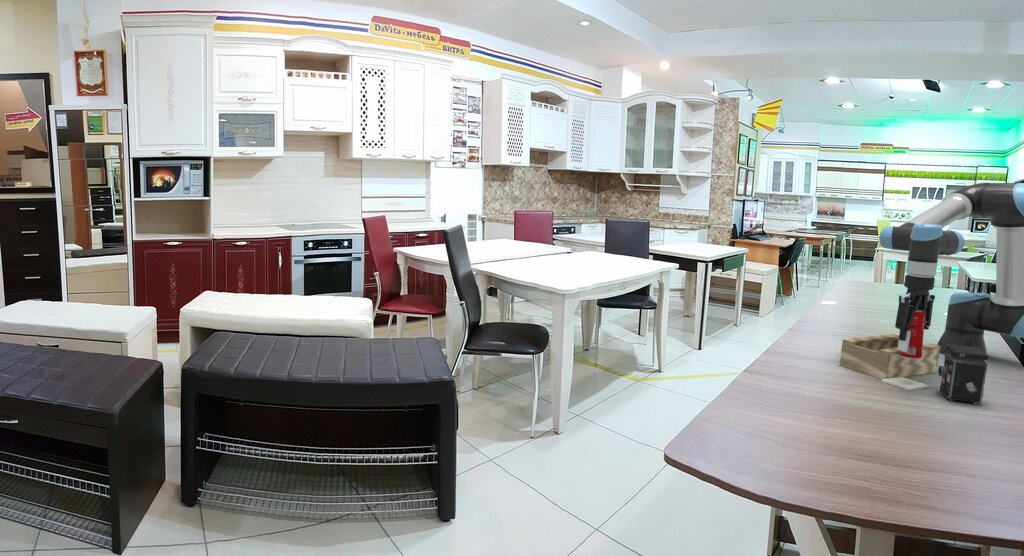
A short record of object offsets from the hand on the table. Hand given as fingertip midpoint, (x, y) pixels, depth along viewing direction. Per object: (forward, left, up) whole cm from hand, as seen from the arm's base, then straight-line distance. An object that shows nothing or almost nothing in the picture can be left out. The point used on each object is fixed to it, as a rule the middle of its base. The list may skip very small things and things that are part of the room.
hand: (909, 349), depth 185 cm
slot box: (-11, -13, -11) cm, 20 cm away
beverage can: (0, 0, -3) cm, 3 cm away
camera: (-4, +13, -11) cm, 18 cm away
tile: (0, 0, -11) cm, 11 cm away
